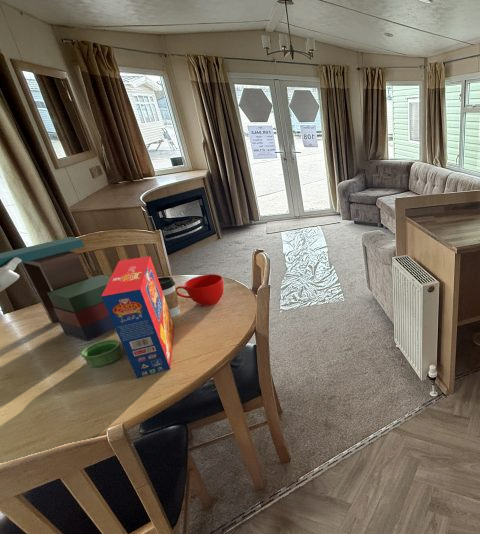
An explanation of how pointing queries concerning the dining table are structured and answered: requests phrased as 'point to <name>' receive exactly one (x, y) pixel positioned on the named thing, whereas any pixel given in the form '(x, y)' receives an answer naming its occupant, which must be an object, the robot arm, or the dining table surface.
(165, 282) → the coffee cup
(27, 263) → the walnut shelf
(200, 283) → the ceramic cup
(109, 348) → the ramekin
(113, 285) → the cereal box
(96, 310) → the book pile
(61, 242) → the teal bar
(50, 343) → the dining table surface
